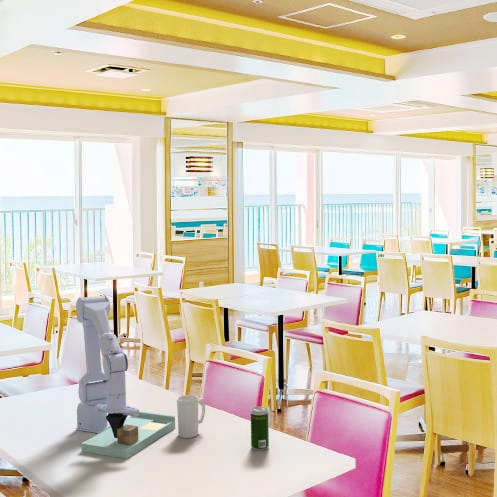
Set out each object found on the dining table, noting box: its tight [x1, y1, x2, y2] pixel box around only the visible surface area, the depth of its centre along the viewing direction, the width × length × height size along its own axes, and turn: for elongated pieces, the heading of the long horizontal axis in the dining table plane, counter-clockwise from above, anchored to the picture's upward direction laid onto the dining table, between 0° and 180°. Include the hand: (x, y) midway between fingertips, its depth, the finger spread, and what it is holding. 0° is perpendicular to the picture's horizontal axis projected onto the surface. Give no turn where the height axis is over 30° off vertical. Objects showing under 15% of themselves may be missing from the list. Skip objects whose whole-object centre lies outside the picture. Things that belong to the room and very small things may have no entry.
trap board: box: [80, 410, 176, 460], centre depth 224 cm, size 16×29×4 cm, turn 157°
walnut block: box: [117, 424, 139, 446], centre depth 215 cm, size 4×4×4 cm
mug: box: [176, 394, 206, 439], centre depth 228 cm, size 10×7×12 cm, turn 128°
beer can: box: [250, 406, 270, 452], centre depth 215 cm, size 5×5×12 cm
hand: (117, 437), depth 216 cm, fingers closed
